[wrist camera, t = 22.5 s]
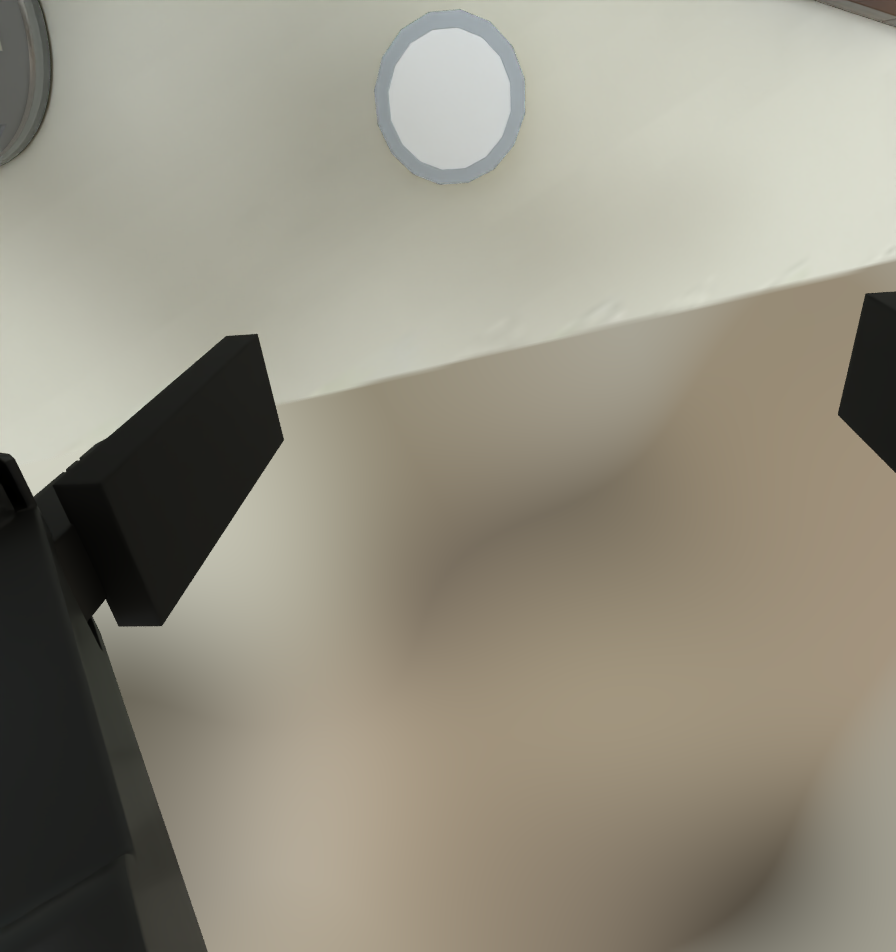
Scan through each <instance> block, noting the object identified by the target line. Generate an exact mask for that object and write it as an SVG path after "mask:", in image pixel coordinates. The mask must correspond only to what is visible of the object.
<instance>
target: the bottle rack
mask: <svg viewBox="0 0 896 952" xmlns="http://www.w3.org/2000/svg"><path fill="white" fill-rule="evenodd" d="M815 1H818V2H821V3H824V4H827V5H830V6H833V7H837V8H840V9H843V10H846V11H849V12H852V13H855V14H858V15H861V16H864V17H867V18H870V19H873V20H876V21H881V22H883V23H886V24H889V25H892V26H895V27H896V0H815Z"/></svg>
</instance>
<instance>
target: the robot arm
mask: <svg viewBox="0 0 896 952" xmlns="http://www.w3.org/2000/svg"><path fill="white" fill-rule="evenodd" d="M50 78H51V65H50V51H49V43H48V37H47V31H46V26H45V22H44V18H43V14H42V11H41V8H40V4H39V1H38V0H0V166H1V165H3V164H5V163H7V162H9V161H10V160H12V159H13V158H14V157H16V156H17V155H18V154H19V153H20V152H21V151H22V150H23V149H24V148H25V147H26V146H27V145H28V144H29V142H30V141H31V140H32V138H33V137H34V135H35V133H36V132H37V130H38V128H39V126H40V123H41V121H42V119H43V116H44V113H45V109H46V106H47V102H48V96H49V90H50ZM838 415H839V416H840V417H841V418H842V419H843V420H844V421H845V422H846V423H847V424H848V425H849V427H851V428H852V430H853V431H855V433H857V435H859V437H860V438H862V440H863V441H864V442H865V443H866V444H867V445H868V446H869V447H871V448H872V449H873V450H874V451H875V453H877V454H878V456H879V457H880V458H881V459H882V460H884V462H886V464H887V465H888V466H889V467H890V468H891V469H892V470H893V471H894V472H895V473H896V292H883V293H867V294H865V299H864V303H863V307H862V311H861V316H860V320H859V325H858V329H857V333H856V338H855V342H854V346H853V351H852V355H851V359H850V364H849V368H848V372H847V377H846V381H845V385H844V390H843V394H842V398H841V403H840V407H839V411H838ZM283 441H284V438H283V434H282V430H281V427H280V422H279V418H278V414H277V410H276V406H275V402H274V398H273V394H272V390H271V386H270V382H269V378H268V374H267V370H266V366H265V362H264V358H263V354H262V350H261V346H260V342H259V338H258V334H250V335H235V336H226V337H224V338H223V339H222V340H221V341H220V342H219V343H217V344H216V345H215V346H214V347H213V348H212V349H210V350H209V351H208V352H207V353H206V354H205V355H203V356H202V357H201V358H200V359H199V360H198V361H196V362H195V363H194V364H193V365H192V366H191V367H189V368H188V369H187V370H186V371H185V372H184V373H182V374H181V375H180V376H179V377H178V378H177V379H175V380H174V381H173V382H172V383H171V384H170V385H168V386H167V387H166V388H165V389H164V390H163V391H161V392H160V393H159V394H158V395H157V396H156V397H154V398H153V399H152V400H151V401H150V402H149V403H147V404H146V405H145V406H144V407H143V408H142V409H141V410H139V411H138V412H137V413H136V414H135V415H134V416H132V417H131V418H130V419H129V420H128V421H127V422H125V423H124V424H123V425H122V426H121V427H120V428H118V429H117V430H116V431H115V432H114V433H113V434H111V435H110V436H109V437H108V438H106V439H104V440H102V441H101V442H99V443H97V444H95V445H94V446H93V447H92V448H91V449H89V450H88V451H87V452H86V453H85V454H84V455H82V456H81V457H80V461H75V462H74V463H73V464H72V465H71V466H69V467H68V468H67V469H66V472H63V473H61V474H60V475H59V476H58V477H57V478H56V479H54V480H53V481H52V482H51V483H50V484H48V485H47V486H46V487H45V488H44V489H42V490H41V491H40V492H39V493H38V494H36V495H35V496H34V497H33V495H32V493H31V491H30V489H29V487H28V485H27V483H26V481H25V479H24V477H23V475H22V473H21V471H20V469H19V467H18V465H17V463H16V461H15V459H14V458H13V457H12V456H11V455H10V454H5V453H0V952H207V949H206V945H205V942H204V939H203V936H202V933H201V930H200V927H199V925H198V922H197V919H196V916H195V913H194V910H193V907H192V904H191V901H190V898H189V895H188V892H187V889H186V886H185V883H184V880H183V877H182V874H181V871H180V868H179V865H178V862H177V859H176V856H175V853H174V850H173V848H172V844H171V841H170V839H169V835H168V832H167V830H166V826H165V824H164V821H163V818H162V815H161V812H160V809H159V806H158V803H157V800H156V797H155V794H154V791H153V788H152V785H151V782H150V779H149V776H148V773H147V770H146V767H145V764H144V761H143V758H142V755H141V752H140V749H139V746H138V743H137V740H136V737H135V734H134V731H133V729H132V725H131V723H130V719H129V716H128V714H127V711H126V708H125V705H124V702H123V699H122V696H121V693H120V690H119V687H118V684H117V681H116V678H115V675H114V672H113V669H112V666H111V663H110V660H109V657H108V654H107V651H106V648H105V645H104V643H103V640H102V636H101V633H100V631H99V629H98V627H97V625H96V623H95V621H94V619H93V617H92V615H93V614H94V613H95V612H96V610H97V609H98V608H99V607H100V605H101V604H102V603H103V602H104V600H105V599H106V600H107V603H108V605H109V607H110V609H111V611H112V613H113V615H114V618H115V620H116V622H117V624H118V626H162V625H163V624H164V622H165V621H166V619H167V618H168V616H169V614H170V613H171V611H172V610H173V608H174V607H175V605H176V604H177V602H178V601H179V599H180V597H181V596H182V595H183V593H184V591H185V590H186V588H187V587H188V585H189V584H190V582H191V581H192V579H193V578H194V576H195V575H196V573H197V572H198V570H199V569H200V567H201V566H202V564H203V563H204V561H205V560H206V558H207V557H208V555H209V553H210V552H211V550H212V549H213V547H214V546H215V544H216V543H217V541H218V540H219V538H220V537H221V535H222V534H223V532H224V531H225V529H226V527H227V526H228V524H229V523H230V521H231V520H232V518H233V517H234V515H235V514H236V512H237V511H238V509H239V508H240V506H241V505H242V503H243V502H244V500H245V499H246V497H247V495H248V494H249V492H250V491H251V489H252V488H253V486H254V485H255V483H256V482H257V480H258V479H259V477H260V476H261V474H262V472H263V471H264V469H265V468H266V466H267V465H268V463H269V462H270V460H271V459H272V457H273V456H274V454H275V453H276V451H277V449H278V448H279V447H280V445H281V444H282V442H283Z"/></svg>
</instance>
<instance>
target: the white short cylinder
mask: <svg viewBox="0 0 896 952" xmlns="http://www.w3.org/2000/svg"><path fill="white" fill-rule="evenodd" d="M374 92H375V102H376V111H377V121H378V126H379V128H380V130H381V132H382V134H383V136H384V138H385V140H386V142H387V145H388V147H389V149H390V151H391V153H392V154H393V155H394V156H395V157H396V158H397V159H398V160H399V161H400V162H401V163H402V164H403V165H404V166H405V167H406V168H407V169H408V170H410V171H411V172H412V173H413V174H414V175H417V176H419V177H422V178H424V179H427V180H430V181H432V182H435V183H438V184H456V183H469V182H471V181H472V180H474V179H476V178H478V177H480V176H482V175H484V174H486V173H488V172H490V171H492V170H493V169H495V167H496V166H497V165H498V164H499V163H500V161H501V160H502V159H503V158H504V157H505V155H506V154H507V153H508V152H509V151H510V149H511V148H512V147H513V146H514V144H515V141H516V138H517V135H518V132H519V129H520V127H521V124H522V121H523V118H524V115H525V78H524V75H523V73H522V70H521V67H520V65H519V62H518V59H517V57H516V54H515V51H514V48H513V46H512V45H511V44H510V43H509V42H508V41H507V39H506V38H505V37H504V36H503V35H502V34H501V33H500V32H499V31H498V30H497V29H496V27H495V26H494V25H493V24H492V23H491V22H490V21H488V20H485V19H483V18H480V17H478V16H476V15H473V14H471V13H468V12H466V11H463V10H461V9H457V10H446V11H435V12H428V13H427V14H425V15H423V16H422V17H420V18H419V19H417V20H415V21H414V22H412V23H410V24H409V25H407V26H406V27H404V28H402V29H401V30H400V32H399V33H398V35H397V36H396V38H395V39H394V41H393V42H392V44H391V45H390V47H389V48H388V49H387V51H386V52H385V54H384V55H383V57H382V60H381V65H380V69H379V73H378V77H377V81H376V86H375V90H374Z"/></svg>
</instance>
